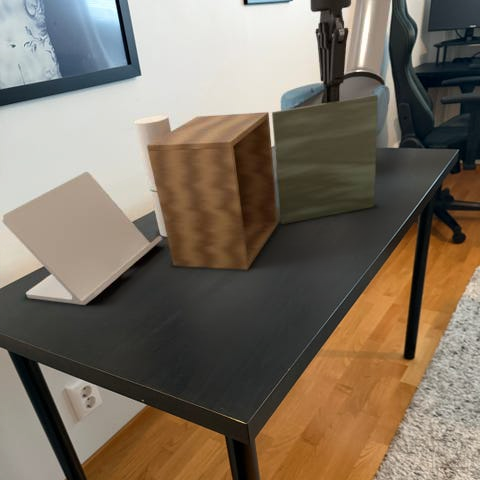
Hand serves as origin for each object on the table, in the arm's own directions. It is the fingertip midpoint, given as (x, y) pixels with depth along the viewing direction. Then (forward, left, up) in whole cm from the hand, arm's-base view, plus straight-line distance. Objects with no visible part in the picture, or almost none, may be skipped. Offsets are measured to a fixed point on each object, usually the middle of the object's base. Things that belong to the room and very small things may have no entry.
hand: (332, 119), depth 100 cm
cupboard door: (+2, -2, -20) cm, 20 cm away
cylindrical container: (+25, -28, -20) cm, 43 cm away
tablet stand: (+47, -28, -20) cm, 59 cm away
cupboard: (+25, -11, -20) cm, 34 cm away
